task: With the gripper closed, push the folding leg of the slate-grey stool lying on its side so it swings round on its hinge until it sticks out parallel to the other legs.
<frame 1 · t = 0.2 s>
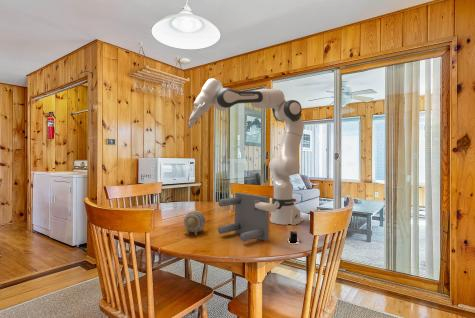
hand: (189, 127, 145), 54 cm above the table, tool tilted 30°, fingers open, 8 cm apart
toy sheep: (195, 233, 136), on the table
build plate: (293, 242, 126), on the table
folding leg: (264, 206, 122), point 17 cm above the table, hinge at 90.0°
stool: (249, 236, 132), on the table
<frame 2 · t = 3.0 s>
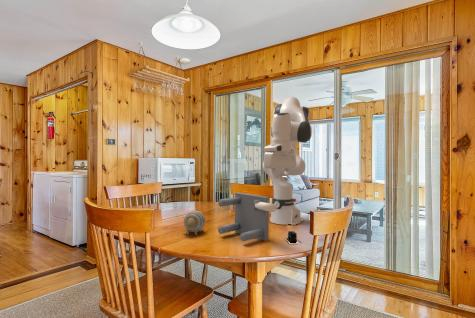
hand: (280, 178, 124), 29 cm above the table, tool pointing down, fingers open, 6 cm apart
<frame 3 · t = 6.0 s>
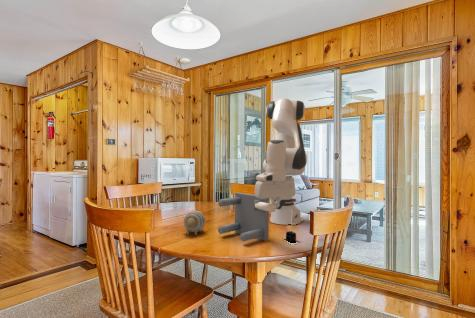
hand: (275, 207, 120), 16 cm above the table, tool pointing down, fingers closed
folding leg: (263, 206, 122), point 17 cm above the table, hinge at 88.2°, touching gripper
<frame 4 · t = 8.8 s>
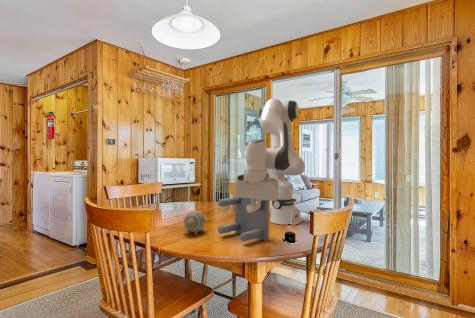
hand: (255, 209, 116), 16 cm above the table, tool pointing down, fingers closed, pressing on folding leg
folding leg: (254, 206, 121), point 17 cm above the table, hinge at 20.8°, touching gripper
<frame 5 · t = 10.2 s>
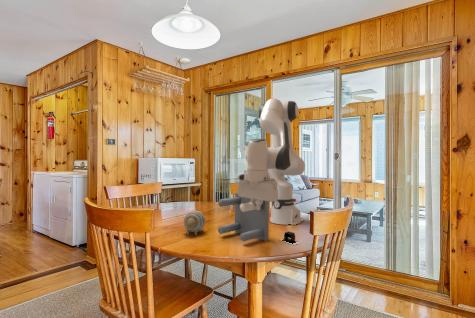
hand: (256, 209, 114), 16 cm above the table, tool pointing down, fingers closed
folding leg: (251, 206, 122), point 17 cm above the table, hinge at -1.8°
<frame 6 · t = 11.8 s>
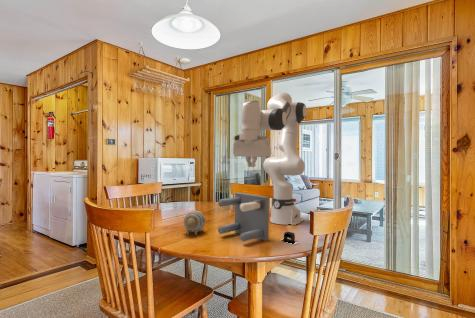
hand: (251, 166, 124), 34 cm above the table, tool pointing down, fingers closed
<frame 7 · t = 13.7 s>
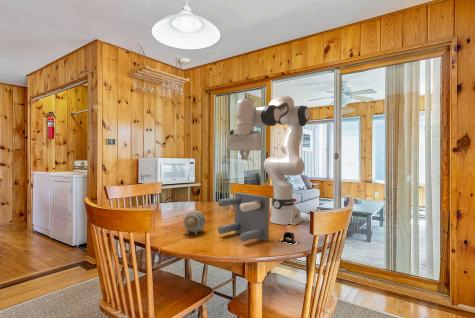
hand: (244, 159, 132), 37 cm above the table, tool pointing down, fingers closed
at the end: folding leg at -2° (first picture: +90°) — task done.
